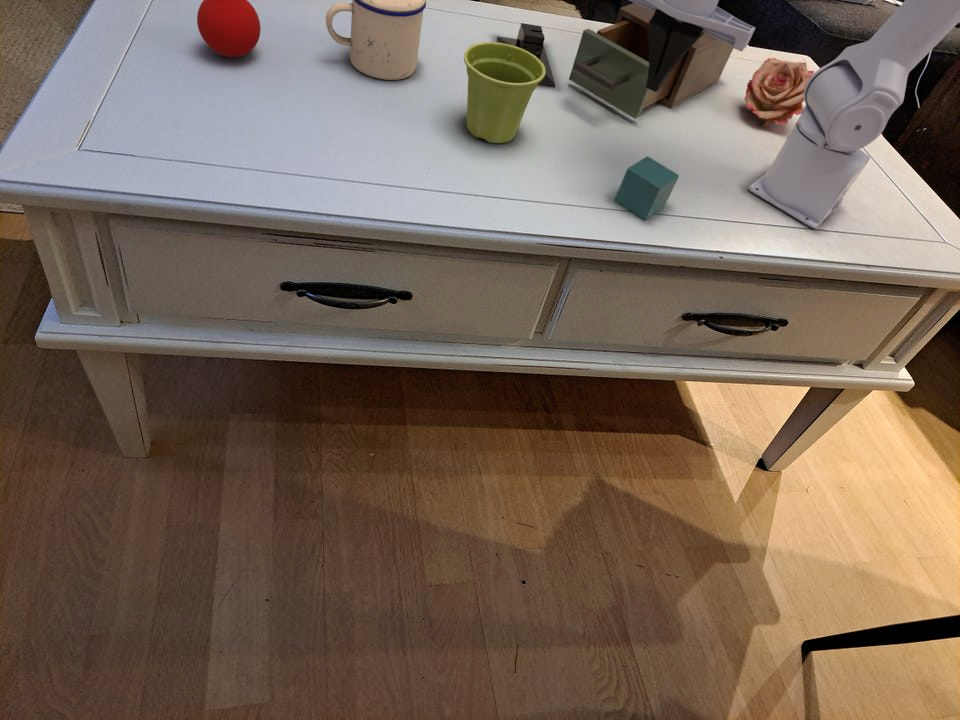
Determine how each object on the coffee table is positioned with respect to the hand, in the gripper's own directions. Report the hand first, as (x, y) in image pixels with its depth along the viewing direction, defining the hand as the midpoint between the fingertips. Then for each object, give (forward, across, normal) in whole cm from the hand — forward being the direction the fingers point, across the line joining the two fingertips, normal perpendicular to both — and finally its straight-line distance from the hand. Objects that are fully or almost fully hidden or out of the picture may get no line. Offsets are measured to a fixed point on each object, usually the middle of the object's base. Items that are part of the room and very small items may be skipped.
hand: (653, 86), depth 77 cm
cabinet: (+10, +5, -28) cm, 30 cm away
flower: (+11, -11, -29) cm, 33 cm away
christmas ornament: (+10, +47, +17) cm, 51 cm away
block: (+10, -5, +6) cm, 13 cm away
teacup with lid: (+10, +35, +5) cm, 37 cm away
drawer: (+10, +8, -16) cm, 20 cm away
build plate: (+10, +21, -13) cm, 27 cm away
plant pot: (+11, +16, +6) cm, 20 cm away
